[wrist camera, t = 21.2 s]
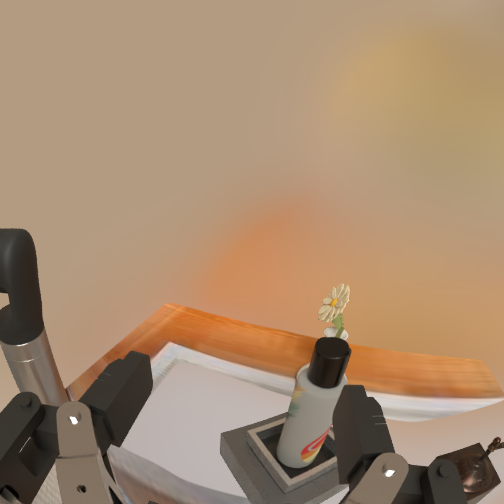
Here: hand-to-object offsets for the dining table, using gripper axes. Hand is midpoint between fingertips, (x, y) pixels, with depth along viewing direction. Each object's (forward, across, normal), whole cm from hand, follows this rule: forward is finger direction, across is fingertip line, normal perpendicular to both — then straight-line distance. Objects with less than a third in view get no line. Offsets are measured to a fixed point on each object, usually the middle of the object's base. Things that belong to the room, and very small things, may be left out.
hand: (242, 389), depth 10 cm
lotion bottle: (+15, -8, +27) cm, 32 cm away
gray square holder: (+15, -8, +33) cm, 37 cm away
